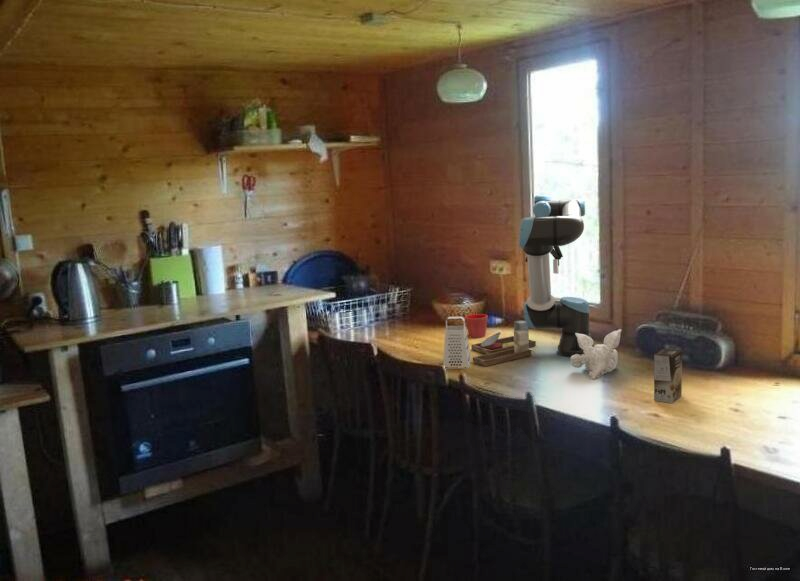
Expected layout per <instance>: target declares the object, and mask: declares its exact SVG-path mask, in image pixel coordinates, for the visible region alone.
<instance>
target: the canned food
mask: <svg viewBox="0 0 800 581" xmlns="http://www.w3.org/2000/svg"><path fill="white" fill-rule="evenodd" d="M500 335H501V331H499V332H496V333H494V334H492V335H491V336H489V337H488V338H486V339H484V340H483V341H482V342H480V343H481V347H483V348H486V349H489V350H495V349H500V348H504V343H500V342H496V341H497V339H500V338H499V337H500Z"/></svg>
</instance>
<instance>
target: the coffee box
mask: <svg viewBox="0 0 800 581" xmlns="http://www.w3.org/2000/svg"><path fill="white" fill-rule="evenodd" d="M653 355H654V356H653V357H654V358H653V359H654V360H653V363H654V364H653V365H654V366H653V368H654V369H653V370H654V371H653V372H654V374H653V378H654V379H653V400H654V401H656V402H662V403H667V404H674V402H676V401H677V400H678V399H680V398H681V397H682V395H683V394H682V391H683V389H682V388H683V387H682V384H683V374H682V373H683V370H682V369H683V350H679V349H674V348H672V349H671V348H670V349H669V348H663V349H661V350H660V351H658V352H656V353H654V354H653Z"/></svg>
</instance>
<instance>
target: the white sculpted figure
mask: <svg viewBox="0 0 800 581" xmlns="http://www.w3.org/2000/svg"><path fill="white" fill-rule="evenodd" d="M621 333H622V328H619V329H617V330H613V331H611V332H610V333H608V334H606V336H604V339H603V343H602V344H595V345H594V342H595V341H594V339H592V337H591V336H590V337H589V336H587V335H584V334H578V333H575V335H576V337H577V341H578V343H579V347H580V348H581V349H583V350H584V351H583V352H584V353H585V354H582V355H580V354H575V355H572V356H571V357H570V358H569V359H570V365H571V366H572V367H574V368H577V369H578V368H582V367H583V365H584V368H585V369H586V370H587V371H588V372H589V371H591V372H589V373H588V375H589V376H590V379H591V380H596V379H599V378H600V375H602V376H604V374H608V373H612V371H614V370H616V369H617V368H616V367H617V364H618V358H619V355H618V353H619V352H618V351H617V350H616V348H618V346H619V345H620V340H621ZM592 345H593V346H594V348H593V347H592ZM607 372H608V373H607Z"/></svg>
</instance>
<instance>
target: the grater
mask: <svg viewBox="0 0 800 581" xmlns="http://www.w3.org/2000/svg"><path fill="white" fill-rule="evenodd" d="M448 319H449V320H450V319H454V320H457V319H461V320H462V321H463V325H448ZM465 323H466V320H465V317H463V316H448V317H447V318H446V319H445V332H444V346H443V348H444V349H443V363H442V366H443V365H445V367H458V368H457V369H463V368H462V367H466V368H465V369H469V368H470V366H469V365H471V363H470V362H472V356H471V351H470V345H469V340H468V331H467V325H466V324H465ZM460 367H461V368H460ZM467 367H468V368H467Z"/></svg>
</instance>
